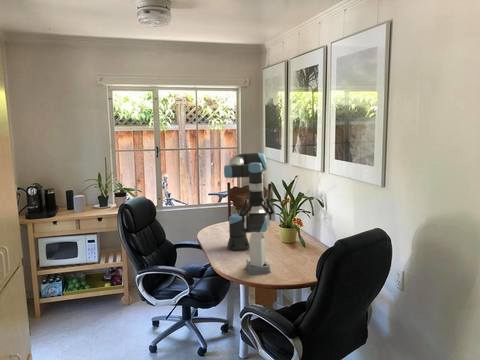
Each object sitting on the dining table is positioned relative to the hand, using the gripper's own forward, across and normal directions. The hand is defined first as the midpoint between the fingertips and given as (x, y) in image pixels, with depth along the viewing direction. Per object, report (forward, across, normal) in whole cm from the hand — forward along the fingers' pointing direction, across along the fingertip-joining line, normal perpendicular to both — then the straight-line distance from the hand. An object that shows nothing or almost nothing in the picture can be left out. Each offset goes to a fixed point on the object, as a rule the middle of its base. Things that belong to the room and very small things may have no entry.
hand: (256, 226), depth 219 cm
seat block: (+26, 0, 0) cm, 26 cm away
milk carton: (+22, 0, 0) cm, 23 cm away
